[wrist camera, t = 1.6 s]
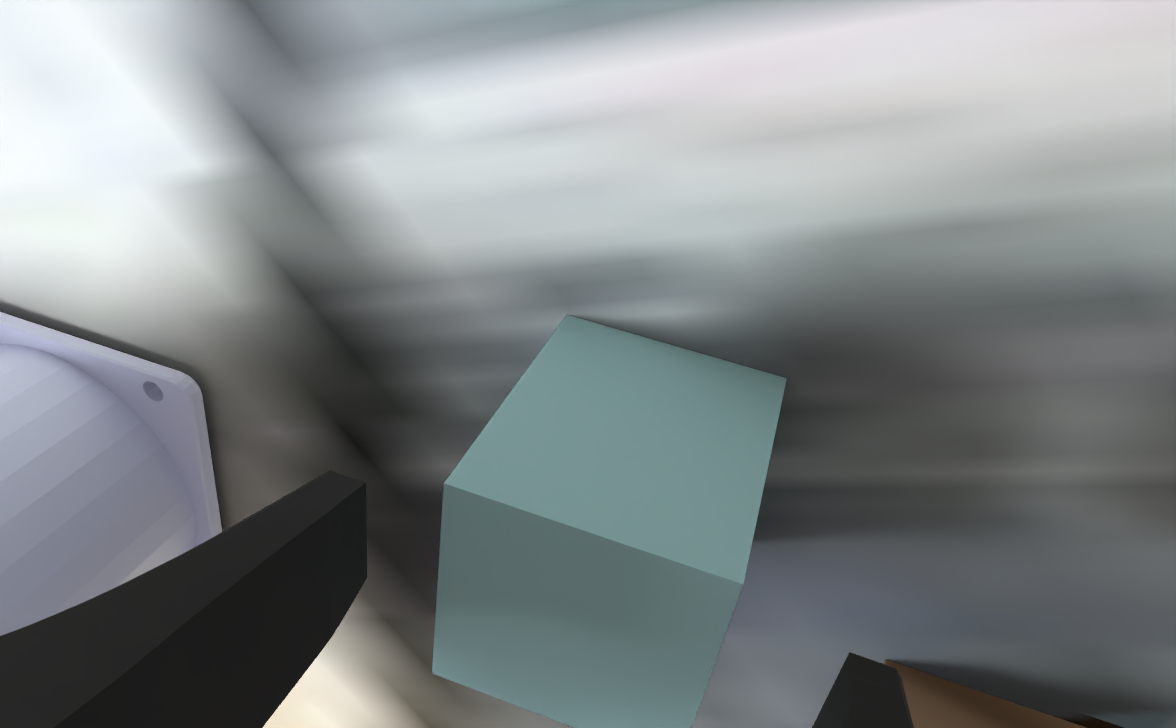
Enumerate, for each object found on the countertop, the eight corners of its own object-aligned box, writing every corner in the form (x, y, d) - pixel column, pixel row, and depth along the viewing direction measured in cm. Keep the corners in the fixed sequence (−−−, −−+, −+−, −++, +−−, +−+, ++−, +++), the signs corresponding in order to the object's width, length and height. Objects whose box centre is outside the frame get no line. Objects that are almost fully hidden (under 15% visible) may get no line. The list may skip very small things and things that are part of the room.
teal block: (542, 479, 17) (431, 673, 13) (567, 313, 15) (443, 482, 11) (731, 542, 16) (677, 767, 12) (786, 376, 14) (743, 585, 10)
